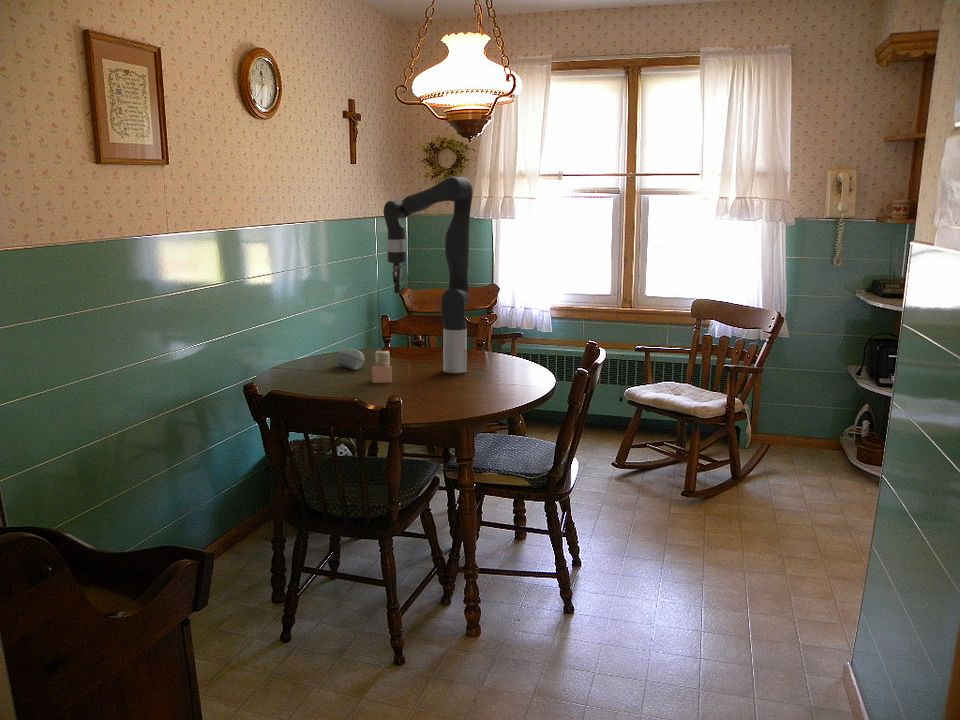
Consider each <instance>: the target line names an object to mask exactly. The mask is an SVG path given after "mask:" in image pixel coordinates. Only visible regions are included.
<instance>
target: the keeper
mask: <svg viewBox="0 0 960 720" xmlns="http://www.w3.org/2000/svg"><path fill="white" fill-rule="evenodd" d="M390 360H391V359H390V351H389V350H376V351H375V366H391V364H390V363H391V362H390Z"/></svg>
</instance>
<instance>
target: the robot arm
mask: <svg viewBox="0 0 960 720" xmlns="http://www.w3.org/2000/svg"><path fill="white" fill-rule="evenodd" d="M472 199H473V185H472V182H471V180H470V179H469V178H467V177H465V176H464V177H463V176H449V177H447V178H446V179H444V180H442V181H441V182H439V183H437V184H435V185H434V186H432V187H429V188H428V189H425V190H422V191H419V192H415V193H413V194H411V195H407V196H406V197H404V199H403V200H388V201H386V202H385V204H384V207H383V217H384V220H385V221H384V222H385V224H386V228H387V243H386V244H387V249H386V251H387V262H388V263H391V264H393V266H391V272H392V273H391V274H392V280H393V281H392V282H393V285H394V288H393V289H394V291H393V292H394V294H400V293H401V281H402V279H401V278H402V271H403V266H401V264H404V263H406V262H407V245H406V244H407V243H406V228H405V226H404V225H402V224H400V222H399V219H404V218H408V217H409V216H411V215H413V214H415V213H418V212H422V211H424V210H426V209H428V208H430V207H431V206H433V205H434V204H437V203H442V202H453V203H454V204H453V205H454V206H453V207H454V208H453V216H452V219H451V221H450V222H449V223H450V224H449V225H448V228H447V230H446V233H445V241H444V244H445V245H444V251H445V253H444V254H445V260H446V264H447V268H448V273H449V279H448V280H449V282H448V288H447V290H445V292H443V293H442V296H441V302H440V306H441V321H442V324H443V327H442V328H443V330H442V331H443V333H442V334H443V335H442V336H443V337H442V338H443V342H442V343H443V344H442V345H443V348H442V349H443V352H442V353H443V355H442V356H443V357H442V358H443V360H442V361H443V363H442V364H443V367H442V368H443V372H444V373H446V374H447V373H448V374H462V373H467V371H468V369H467V368H468V365H467V364H468V363H467V361H468V359H467V358H468V357H467V356H468V353H467V351H468V350H467V349H468V348H467V347H468V346H467V345H468V344H467V343H468V342H467V338H468V336H467V335H468V333H467V331H468V323H467V321H466V318H465V308H466V307H467V306H468V304H469V300H470V294H469V281H468V272H469V271H468V270H469V254H470V224H471V223H470V222H471V221H470V220H471V219H470V218H471V208H472V202H473V201H472Z"/></svg>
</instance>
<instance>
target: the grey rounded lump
mask: <svg viewBox="0 0 960 720" xmlns="http://www.w3.org/2000/svg"><path fill="white" fill-rule="evenodd" d="M335 358H336V359H335V360H336V363H337V365H338V366H339V367H341V368H347V369H349V370H351V371H352V370H353V371H359V370H360V369H362V367H363V366H364V364H365V355H364V353H363V352H362V351H360V350H358V349H355V348H352V347H351V348H350V347H343V348H342V347H341V348H340V349H339V350H338V352H337V354H336V356H335Z"/></svg>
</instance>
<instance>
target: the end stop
mask: <svg viewBox="0 0 960 720" xmlns="http://www.w3.org/2000/svg"><path fill="white" fill-rule="evenodd" d="M371 368H372V369H371V370H372V371H371V375H372V377H371V379H372V381H371V382H372V383H375V384H376V383H378V384H379V383H380V384H381V383H383V384H389V383H390V384H392V383H393V379H392V377H393V374H392V373H393V372H392V371H393V370H392V368H393V367H392V365H390V366H376V365H373V366H372V367H371Z"/></svg>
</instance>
